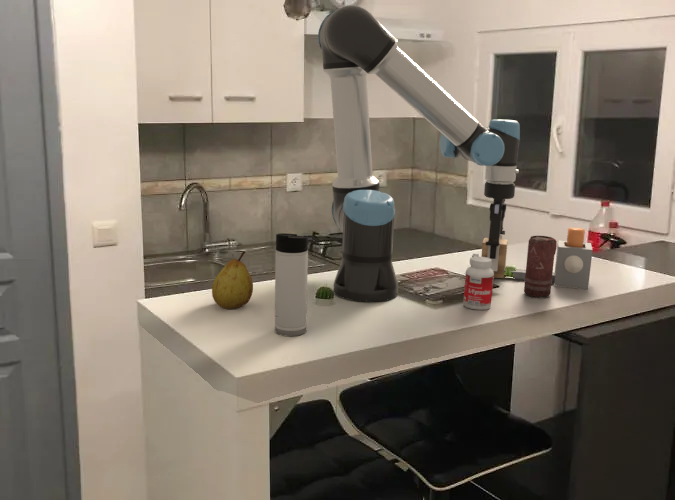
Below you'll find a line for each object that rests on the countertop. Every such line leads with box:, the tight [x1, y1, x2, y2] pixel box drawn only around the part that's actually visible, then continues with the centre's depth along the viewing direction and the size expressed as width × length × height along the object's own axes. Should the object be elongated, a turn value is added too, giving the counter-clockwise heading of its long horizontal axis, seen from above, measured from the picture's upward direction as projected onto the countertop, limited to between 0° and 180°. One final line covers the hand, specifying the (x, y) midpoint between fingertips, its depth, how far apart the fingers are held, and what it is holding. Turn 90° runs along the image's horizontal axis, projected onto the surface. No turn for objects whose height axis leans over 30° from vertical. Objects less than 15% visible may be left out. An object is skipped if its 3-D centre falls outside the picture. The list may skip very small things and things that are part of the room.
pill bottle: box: [462, 256, 495, 311], centre depth 163 cm, size 6×6×11 cm
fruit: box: [211, 251, 254, 310], centre depth 158 cm, size 9×9×12 cm
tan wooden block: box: [480, 237, 509, 279], centre depth 189 cm, size 6×6×9 cm
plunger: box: [566, 227, 586, 248], centre depth 183 cm, size 4×4×6 cm
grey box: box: [553, 239, 593, 290], centre depth 184 cm, size 8×8×10 cm
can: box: [523, 235, 558, 299], centre depth 173 cm, size 6×6×14 cm
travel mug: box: [274, 232, 309, 337], centre depth 142 cm, size 6×7×20 cm
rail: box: [471, 253, 555, 284], centre depth 188 cm, size 21×3×5 cm, turn 75°
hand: (493, 264), depth 189 cm, fingers open, 12 cm apart
